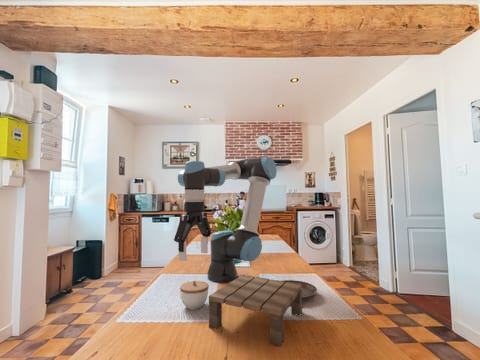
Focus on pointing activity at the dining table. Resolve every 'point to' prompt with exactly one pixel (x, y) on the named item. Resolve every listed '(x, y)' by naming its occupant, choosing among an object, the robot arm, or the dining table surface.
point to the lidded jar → (194, 294)
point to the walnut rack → (258, 301)
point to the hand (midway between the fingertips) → (194, 256)
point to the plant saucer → (305, 289)
